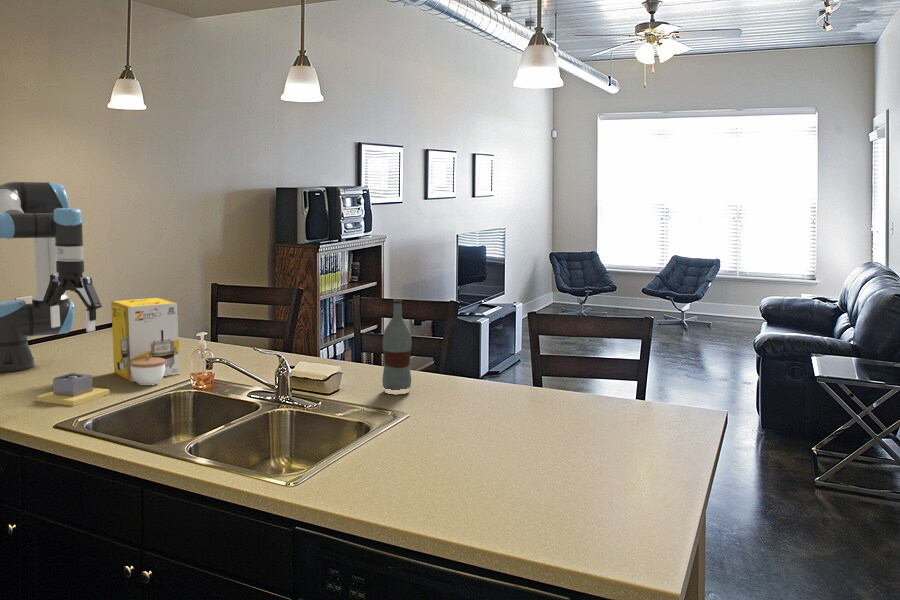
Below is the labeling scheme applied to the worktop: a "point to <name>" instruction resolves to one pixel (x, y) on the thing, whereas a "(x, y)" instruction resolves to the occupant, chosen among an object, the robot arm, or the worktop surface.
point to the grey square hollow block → (72, 385)
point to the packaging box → (145, 333)
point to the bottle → (397, 351)
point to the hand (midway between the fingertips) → (73, 329)
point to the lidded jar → (147, 370)
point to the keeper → (72, 400)
